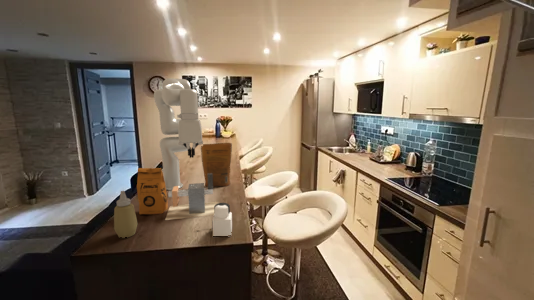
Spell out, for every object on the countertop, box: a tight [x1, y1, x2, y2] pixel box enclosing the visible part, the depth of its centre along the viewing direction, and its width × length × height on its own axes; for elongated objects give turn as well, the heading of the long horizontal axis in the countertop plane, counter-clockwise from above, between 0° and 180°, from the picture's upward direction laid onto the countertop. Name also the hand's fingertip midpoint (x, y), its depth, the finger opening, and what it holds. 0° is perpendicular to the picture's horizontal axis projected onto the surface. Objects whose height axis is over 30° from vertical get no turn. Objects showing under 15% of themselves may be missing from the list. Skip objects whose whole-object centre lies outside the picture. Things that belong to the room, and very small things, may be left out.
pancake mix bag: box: [200, 142, 233, 188], centre depth 155 cm, size 7×19×28 cm, turn 100°
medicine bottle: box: [211, 202, 233, 237], centre depth 98 cm, size 7×7×12 cm
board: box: [164, 201, 220, 221], centre depth 118 cm, size 16×24×1 cm, turn 104°
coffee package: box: [136, 167, 169, 216], centre depth 116 cm, size 10×12×22 cm
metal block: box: [187, 182, 206, 214], centre depth 117 cm, size 8×7×12 cm
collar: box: [171, 186, 180, 207], centre depth 115 cm, size 7×2×7 cm, turn 14°
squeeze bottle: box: [113, 190, 138, 239], centre depth 96 cm, size 8×8×18 cm
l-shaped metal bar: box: [167, 173, 214, 198], centre depth 116 cm, size 2×20×10 cm, turn 104°
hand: (191, 157), depth 114 cm, fingers closed
